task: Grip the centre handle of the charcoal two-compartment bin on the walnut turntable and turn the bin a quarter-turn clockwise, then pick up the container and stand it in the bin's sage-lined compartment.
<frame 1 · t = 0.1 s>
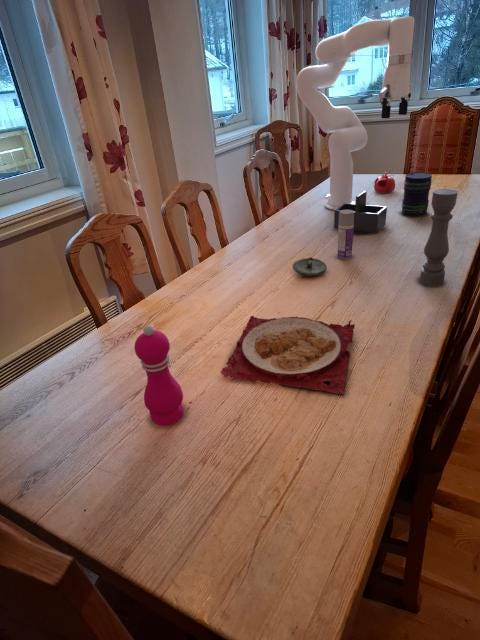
hand: (394, 116, 154), 37 cm above the table, tool pointing down, fingers open, 9 cm apart
plate with food: (291, 354, 96), on the table
storage jar: (413, 213, 173), on the table
turntable: (359, 227, 164), on the table
pomegranate: (383, 192, 204), on the table
bin: (360, 210, 160), point 7 cm above the table, hinge at 0.0°
lid: (309, 271, 134), on the table
container: (344, 257, 141), on the table
pepper mill: (167, 415, 82), on the table
candle holder: (431, 282, 121), on the table
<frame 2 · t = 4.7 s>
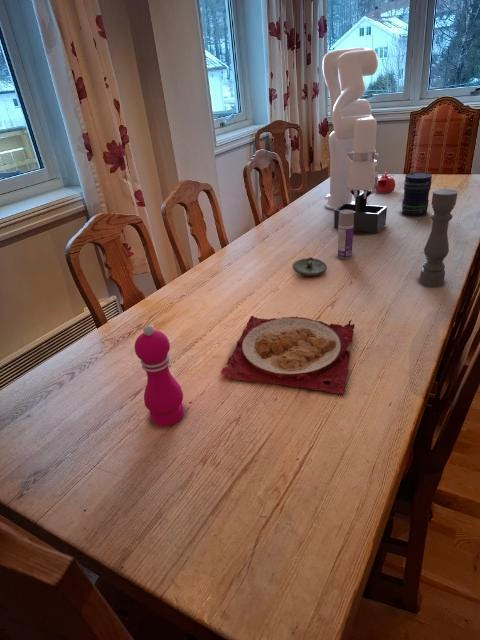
hand: (360, 208, 160), 8 cm above the table, tool pointing down, fingers closed
bin: (360, 210, 160), point 7 cm above the table, hinge at 0.0°, touching gripper
everything else where it was.
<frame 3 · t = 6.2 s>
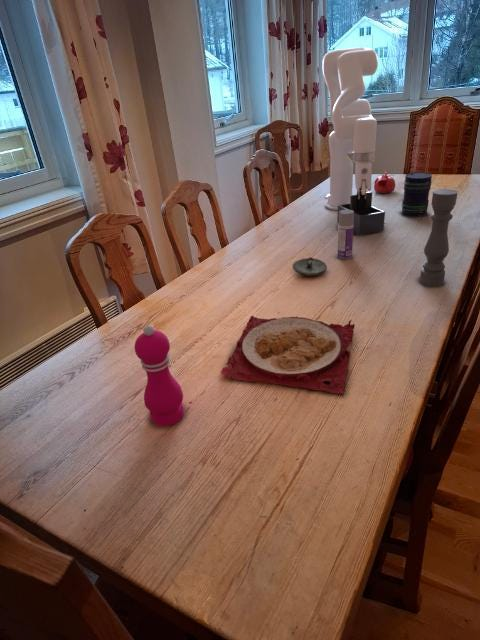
hand: (360, 208, 160), 8 cm above the table, tool pointing down, fingers closed on bin, 2 cm apart
bin: (360, 210, 160), point 7 cm above the table, hinge at -39.6°, touching gripper
everything else where it was.
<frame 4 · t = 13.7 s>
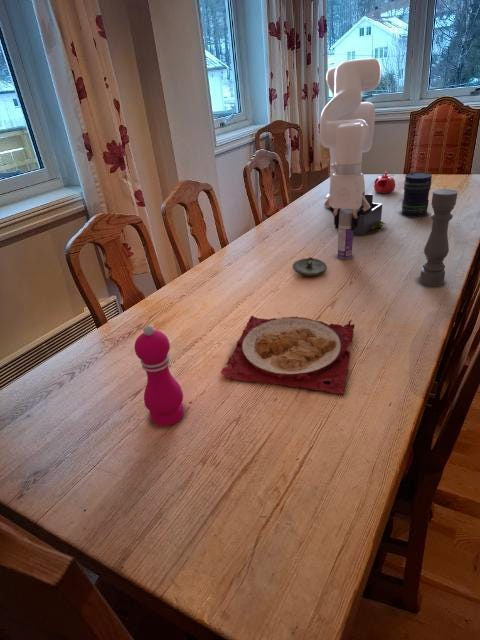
hand: (345, 227, 136), 10 cm above the table, tool pointing down, fingers closed on container, 4 cm apart
bin: (360, 210, 160), point 7 cm above the table, hinge at -94.1°
container: (344, 257, 141), on the table, touching gripper
everything else where it was.
when the fingers open (11 cm above the table, at t = 22.5 s): container stays where it is, resting on bin.
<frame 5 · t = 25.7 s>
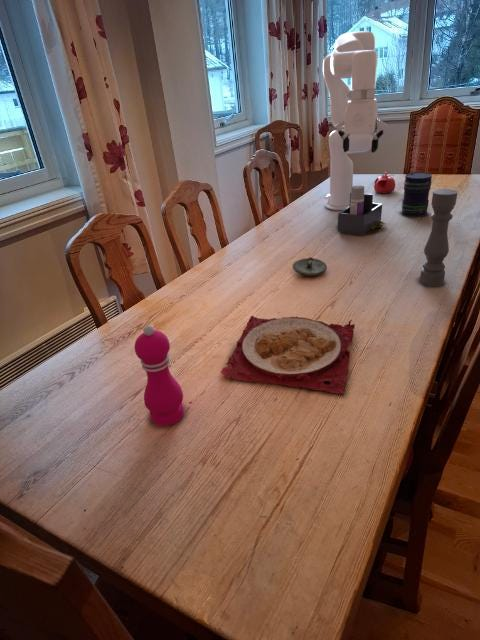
hand: (359, 151, 147), 28 cm above the table, tool pointing down, fingers open, 9 cm apart
bin: (360, 210, 160), point 7 cm above the table, hinge at -94.0°, touching container
container: (355, 228, 161), point 1 cm above the table, touching bin
everything else where it was.
at the end: bin at -94° (first picture: +0°); container 0.0 cm from the target spot on the bin, point 1.1 cm above the bin's base; container tilted 0° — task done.
